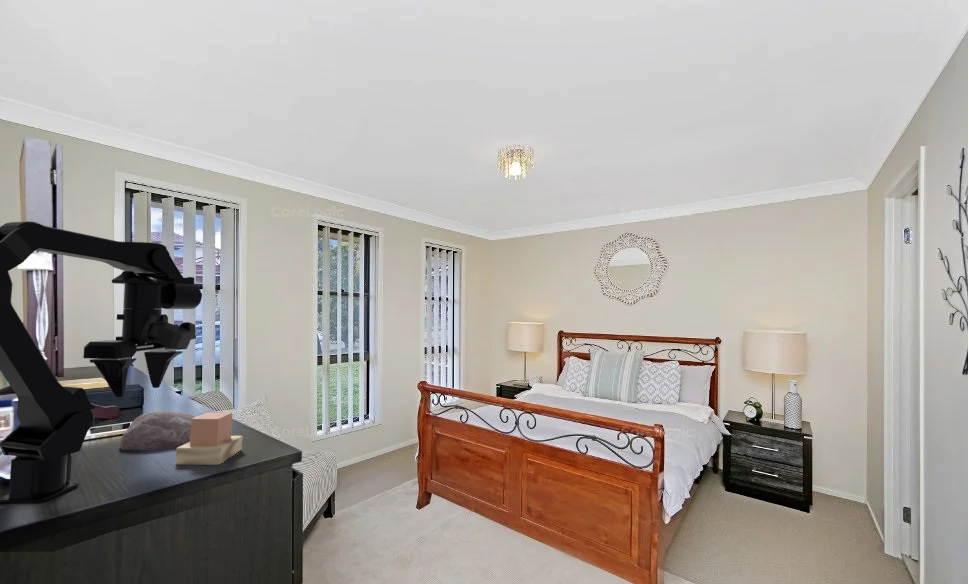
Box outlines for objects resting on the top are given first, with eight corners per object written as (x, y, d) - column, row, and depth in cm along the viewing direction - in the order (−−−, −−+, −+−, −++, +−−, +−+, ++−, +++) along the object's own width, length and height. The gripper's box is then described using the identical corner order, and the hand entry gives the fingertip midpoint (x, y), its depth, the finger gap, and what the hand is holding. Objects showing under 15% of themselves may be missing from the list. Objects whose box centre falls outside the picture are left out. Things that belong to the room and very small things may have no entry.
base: (220, 464, 81) (220, 448, 81) (175, 464, 81) (176, 448, 81) (241, 450, 89) (242, 435, 89) (201, 450, 89) (202, 435, 89)
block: (189, 445, 82) (191, 418, 83) (205, 437, 87) (206, 412, 88) (217, 445, 83) (218, 419, 83) (231, 437, 88) (232, 412, 88)
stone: (216, 462, 98) (220, 423, 105) (214, 439, 92) (218, 399, 99) (120, 473, 91) (132, 430, 97) (111, 449, 85) (124, 405, 91)
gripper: (152, 310, 74) (147, 403, 73) (214, 309, 92) (211, 384, 92) (83, 308, 73) (77, 402, 72) (160, 308, 92) (156, 383, 91)
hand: (138, 392), depth 82 cm, fingers open, 9 cm apart
